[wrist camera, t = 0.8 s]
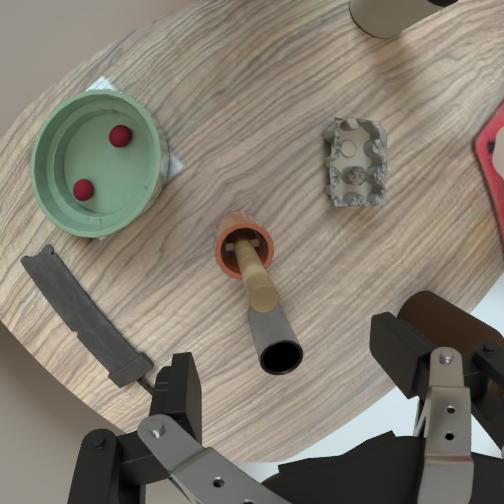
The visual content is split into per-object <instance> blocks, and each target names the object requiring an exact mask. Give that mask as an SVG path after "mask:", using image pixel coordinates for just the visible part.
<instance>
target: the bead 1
mask: <svg viewBox="0 0 504 504" xmlns="http://www.w3.org/2000/svg"><path fill="white" fill-rule="evenodd" d="M93 192H94V187H93V184H92V183H91V181H89V180H87V179H80V180H78V181H77V182H76V183H75V184H74V187H73V195H74V197H75V198H76V199H77V200H79V201H87V200H88V199H90V198H91V196H92V195H93Z"/></svg>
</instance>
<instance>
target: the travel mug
mask: <svg viewBox="0 0 504 504" xmlns="http://www.w3.org/2000/svg"><path fill="white" fill-rule="evenodd" d="M457 1H458V0H351V2H350V11H351V14H352V16H353V18H354V20H355V21H356V22H357V24H358V25H359V26H360V27H361V28H362V29H364V30H365V31H366V32H368V33H369V34H371V35H373V36H376V37H379V38H391V37H393V36H394V35H396V34H398V33H400V32H401V31H403V30H405V29H406V28H408V27H410V26H412V25H413V24H415V23H417V22H419V21H421V20H422V19H424V18H426V17H428V16H430V15H432V14H434V13H436V12H438V11H439V10H441V9H443V8H445V7H447V6H449V5H451V4H453V3H456V2H457Z"/></svg>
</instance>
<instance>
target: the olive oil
mask: <svg viewBox="0 0 504 504" xmlns="http://www.w3.org/2000/svg"><path fill="white" fill-rule="evenodd" d="M397 319H401V320H404V321H406V322H409V323H410V324H411V325H413V326H414V327H415V328H416V329H417V330H418V331H420V332H421V334H423V335H424V336H425V337H427V338H428V339H429V340H430V341H431V342H432V343H433V344H435V345H436V346H437V347H438V348H440V347H450V348H453V349H455V350H457V351H458V352H459V353H460V354H466V353H471V352H474V349H475V346H476V344H477V343H478V342H479V341H481V340H492V341H495V342H497V343H498V344H500V345H501V346H502V347H503V348H504V338H503V336H502V335H501V334H500V333H499V332H498V331H497V330H496V329H494V328H492V327H491V326H489V325H487V324H486V323H484V322H482V321H481V320H479V319H477V318H475V317H473V316H472V315H470V314H468V313H467V312H465V311H463V310H461V309H460V308H458V307H456V306H454V305H453V304H451V303H449V302H448V301H446V300H444V299H443V298H441V297H439V296H438V295H436V294H434V293H432V292H430V291H422V292H419V293H417V294H415V295H414V296H412V297H411V298H410V299H409V300H408V301H407V302H406V303H405V304H404V306H403V307H402V309H401V310H400V312H399V314H398V317H397ZM489 388H490V389H491V390H492V391H493V392H494V393H495V394H496V395H497V396H498V397H499V398H500V399H501V400H502V399H503V392H502V390H501V389H500V388H499V387H498V386H497V385H496V384H495V383H494V382H493V381H492V382H491V384H490V386H489Z"/></svg>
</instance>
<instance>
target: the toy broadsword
mask: <svg viewBox="0 0 504 504" xmlns="http://www.w3.org/2000/svg"><path fill="white" fill-rule="evenodd" d="M52 253H53V248H52V247H51V245H46V246H45V247H44V248H43V249H42V251H41V252H40V253H39V254H38V256H34V257H28V256H24V257H23V258H22V259H21V263H22V265H23V266H24V268H25V269H26V271H27V272H28V274H29V275H30V277H31V278H32V280H33V281H34V282H35V284H36V285H37V287H38V288H39V289H40V291H41V292H42V294H43V295H44V296H45V298H46V299H47V300H48V302H49V303H50V304H51V306H52V307H53V308H54V310H55V311H56V312H57V313H58V315H59V316H60V317H61V318H62V320H63V321H64V322H65V323H66V325H67V326H68V327H69V328H70V329H71V331H79V332H78V335H77V338H78V339H79V340H80V341H81V342H82V343H83V344H84V345H85V347H86V348H87V349H88V350H89V351H90V352H91V353H92V354H93V355H94V356H95V357H96V359H97V360H98V361H99V362H100V363H101V364H102V365H103V366H104V367H105V368H106V369H107V370H108V371H109V372H110V373H109V375H108V377H109V378H110V379H111V380H112V381H113V382H114V383H115V384H116V385H117V386H118V387H119V388H121V387H123V386H125V385H128V384H130V383H132V382H134V381H138V383H139V384H140V385H141V386H143V388H144V389H145V390H147V391H148V392H149V393H150V394H151V395H152V396H153V392H154V389H153V388H152V387H151V386H150V385H149V384H148V383H146V381H144V380H143V379H142V378H141V376H143V375H144V374H146V373H147V372H149V371H150V370H151V369H153V367H154V364H153V363H152V362H151V360H150V359H149V358H148V357H147V356H146V355H145V354H144V353H143V352H141V353H139V354H137V353H136V352H135V351H134V350H133V349H132V348H131V347H130V345H129V344H128V343H127V342H126V341H125V340H124V339H123V338H122V337H121V336H120V334H119V333H118V332H117V331H116V330H115V329H114V328H113V327H112V325H111V324H110V323H109V322H108V321H107V320H106V318H105V317H104V316H103V315H102V314H101V312H100V311H99V310H98V309H97V308H96V306H95V305H94V304H93V303H92V301H91V300H90V299H89V298H88V296H87V295H86V294H85V293H84V291H83V290H82V289H81V287H80V286H79V285H78V283H77V282H76V281H75V279H74V278H73V277H72V275H71V274H70V273H69V271H68V270H67V268H66V267H65V266H64V264H63V263H62V261H61V260H60V259H59V257H58V256H57V254H52Z"/></svg>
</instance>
